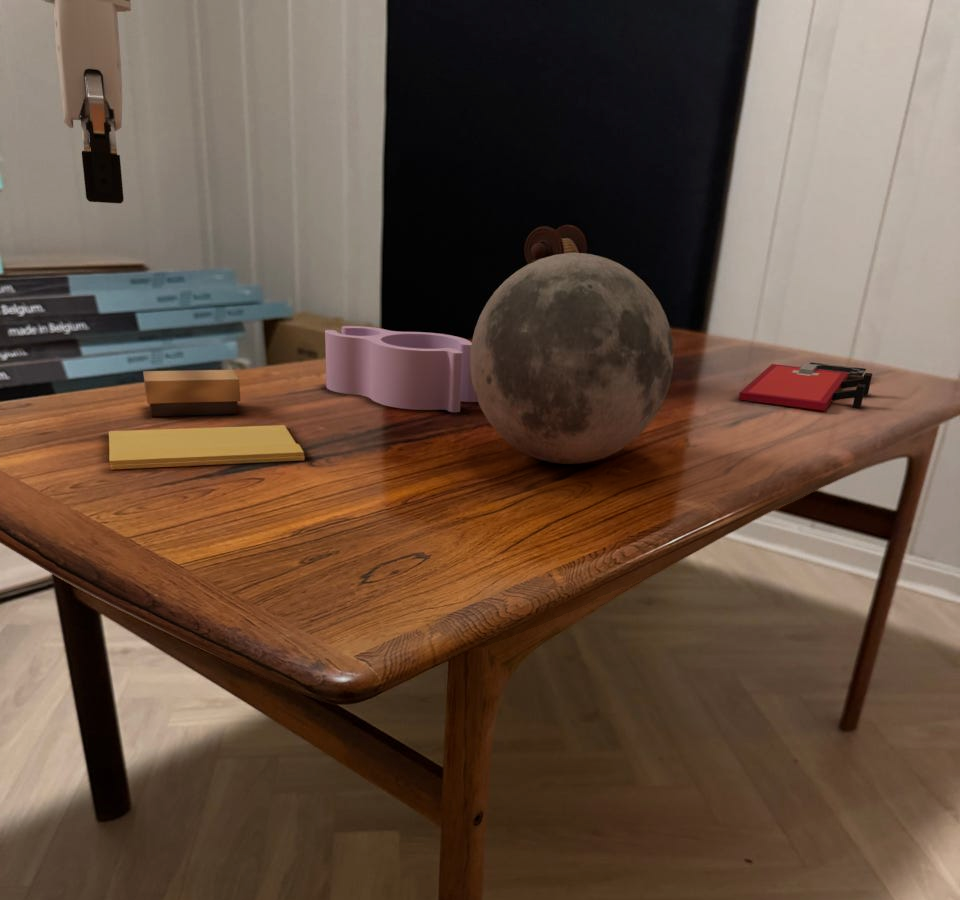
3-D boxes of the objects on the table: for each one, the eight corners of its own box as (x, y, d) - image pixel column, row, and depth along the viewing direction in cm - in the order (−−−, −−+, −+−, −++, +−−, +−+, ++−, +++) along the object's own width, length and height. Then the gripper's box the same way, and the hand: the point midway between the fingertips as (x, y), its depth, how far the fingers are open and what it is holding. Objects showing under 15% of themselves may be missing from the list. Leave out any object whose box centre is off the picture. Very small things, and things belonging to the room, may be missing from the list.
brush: (148, 417, 105) (144, 380, 103) (146, 406, 109) (143, 371, 107) (241, 414, 108) (239, 379, 106) (236, 403, 112) (233, 369, 110)
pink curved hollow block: (307, 391, 120) (305, 334, 116) (360, 375, 130) (360, 322, 127) (447, 416, 112) (450, 356, 109) (493, 397, 122) (496, 341, 119)
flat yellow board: (110, 469, 88) (109, 461, 88) (109, 435, 98) (108, 427, 98) (304, 460, 94) (304, 452, 94) (284, 428, 104) (284, 421, 104)
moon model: (447, 434, 105) (455, 239, 96) (617, 432, 110) (639, 246, 101) (491, 493, 88) (506, 262, 79) (690, 488, 93) (725, 269, 84)
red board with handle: (878, 376, 147) (779, 365, 153) (882, 357, 146) (782, 347, 152) (853, 418, 123) (738, 402, 129) (858, 396, 122) (741, 381, 128)
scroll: (568, 400, 123) (584, 232, 114) (471, 381, 130) (479, 222, 121) (615, 382, 135) (633, 228, 126) (524, 366, 141) (535, 219, 132)
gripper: (41, -8, 90) (63, 192, 97) (33, -36, 75) (59, 202, 83) (126, 2, 92) (141, 197, 100) (133, -22, 78) (150, 207, 85)
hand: (104, 199), depth 91 cm, fingers open, 9 cm apart
